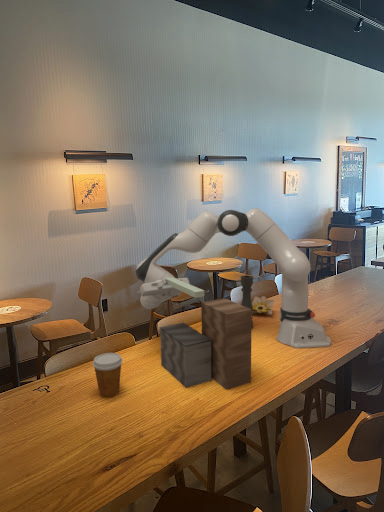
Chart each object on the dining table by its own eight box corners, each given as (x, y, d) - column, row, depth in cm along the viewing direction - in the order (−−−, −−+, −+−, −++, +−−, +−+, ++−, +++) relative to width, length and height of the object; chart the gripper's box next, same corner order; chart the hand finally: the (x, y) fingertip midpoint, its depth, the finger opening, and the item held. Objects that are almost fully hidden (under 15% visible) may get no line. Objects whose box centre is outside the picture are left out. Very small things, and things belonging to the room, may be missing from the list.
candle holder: (242, 330, 180) (243, 278, 176) (237, 326, 186) (238, 275, 182) (255, 329, 182) (255, 277, 178) (249, 324, 188) (250, 274, 184)
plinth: (202, 370, 141) (201, 302, 136) (224, 364, 145) (224, 298, 141) (226, 389, 127) (226, 314, 123) (250, 382, 132) (251, 309, 127)
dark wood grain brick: (161, 365, 146) (160, 327, 143) (184, 359, 151) (183, 322, 148) (186, 387, 129) (185, 345, 126) (211, 380, 133) (211, 339, 131)
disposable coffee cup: (111, 382, 133) (109, 349, 131) (129, 391, 127) (128, 357, 125) (88, 393, 126) (86, 359, 124) (106, 403, 120) (104, 367, 118)
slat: (164, 283, 149) (164, 278, 148) (172, 282, 150) (172, 277, 150) (195, 297, 128) (195, 292, 127) (204, 296, 130) (204, 290, 129)
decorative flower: (242, 313, 200) (244, 294, 200) (246, 312, 211) (248, 293, 211) (271, 318, 195) (273, 298, 196) (273, 316, 206) (275, 298, 206)
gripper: (134, 287, 154) (144, 276, 143) (179, 281, 164) (192, 269, 152) (137, 302, 152) (148, 292, 141) (183, 295, 162) (196, 284, 151)
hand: (171, 280), depth 147 cm, fingers closed on slat, 3 cm apart
